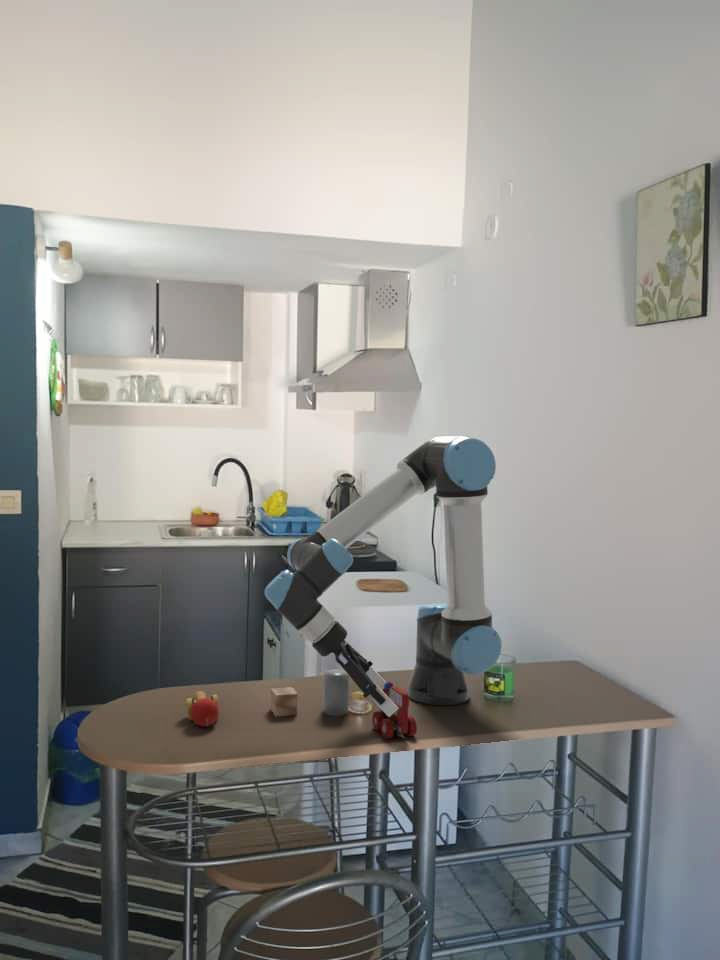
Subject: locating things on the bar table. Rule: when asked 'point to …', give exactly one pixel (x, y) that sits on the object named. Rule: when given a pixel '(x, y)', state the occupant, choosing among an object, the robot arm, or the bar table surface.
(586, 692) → the bar table surface
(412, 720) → the toy fire truck
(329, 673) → the light grey cylinder
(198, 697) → the kendama
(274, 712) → the light brown cube
